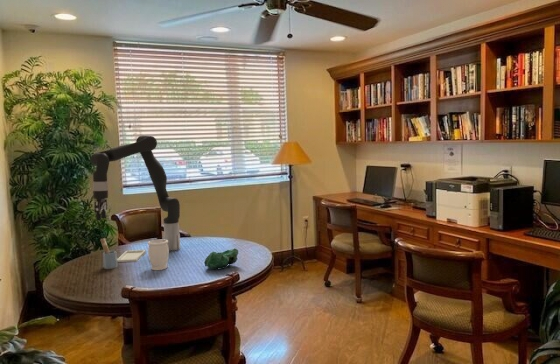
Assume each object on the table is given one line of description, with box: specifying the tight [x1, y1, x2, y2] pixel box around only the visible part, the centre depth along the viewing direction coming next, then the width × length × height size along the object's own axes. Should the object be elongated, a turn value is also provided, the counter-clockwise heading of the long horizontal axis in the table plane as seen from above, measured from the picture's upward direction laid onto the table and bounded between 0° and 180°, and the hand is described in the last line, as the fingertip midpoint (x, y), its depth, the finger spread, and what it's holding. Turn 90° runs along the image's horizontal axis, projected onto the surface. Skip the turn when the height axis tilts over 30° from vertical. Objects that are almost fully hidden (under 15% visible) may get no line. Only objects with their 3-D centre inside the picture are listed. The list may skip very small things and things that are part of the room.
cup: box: [102, 250, 118, 270], centre depth 234 cm, size 7×7×9 cm
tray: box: [117, 249, 147, 263], centre depth 255 cm, size 12×22×2 cm, turn 5°
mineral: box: [204, 247, 239, 270], centre depth 231 cm, size 18×16×10 cm
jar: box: [147, 238, 170, 271], centre depth 232 cm, size 11×10×15 cm
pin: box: [100, 237, 111, 254], centre depth 234 cm, size 6×2×16 cm, turn 95°
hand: (101, 219), depth 235 cm, fingers open, 8 cm apart
